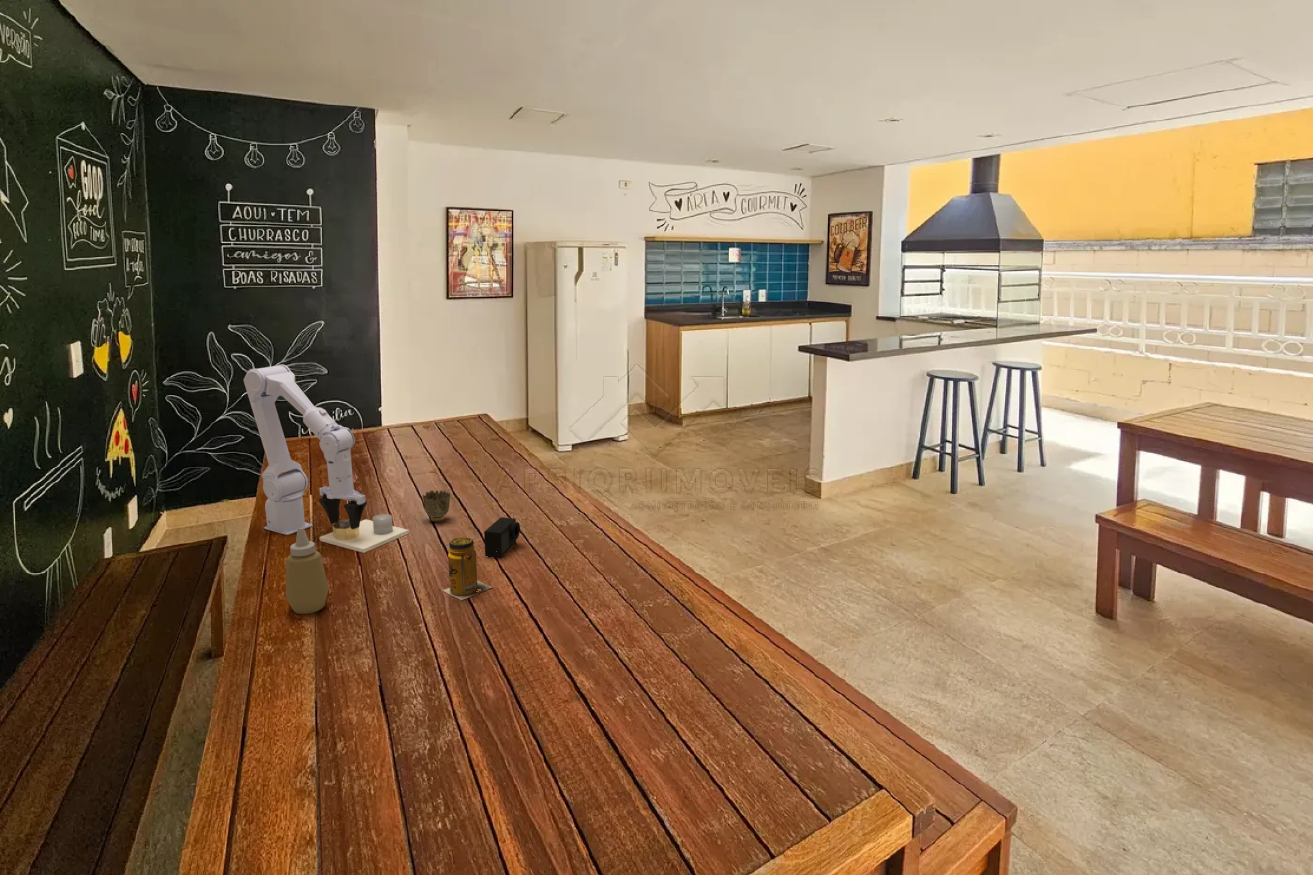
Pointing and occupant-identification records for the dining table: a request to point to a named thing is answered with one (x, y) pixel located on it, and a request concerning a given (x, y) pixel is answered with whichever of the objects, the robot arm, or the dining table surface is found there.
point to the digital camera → (501, 537)
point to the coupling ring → (344, 532)
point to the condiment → (463, 569)
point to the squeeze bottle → (305, 576)
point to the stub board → (368, 534)
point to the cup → (437, 504)
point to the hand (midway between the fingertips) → (344, 525)
